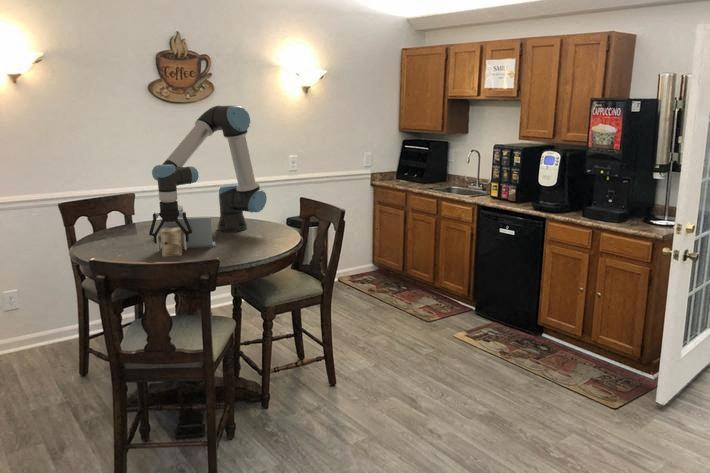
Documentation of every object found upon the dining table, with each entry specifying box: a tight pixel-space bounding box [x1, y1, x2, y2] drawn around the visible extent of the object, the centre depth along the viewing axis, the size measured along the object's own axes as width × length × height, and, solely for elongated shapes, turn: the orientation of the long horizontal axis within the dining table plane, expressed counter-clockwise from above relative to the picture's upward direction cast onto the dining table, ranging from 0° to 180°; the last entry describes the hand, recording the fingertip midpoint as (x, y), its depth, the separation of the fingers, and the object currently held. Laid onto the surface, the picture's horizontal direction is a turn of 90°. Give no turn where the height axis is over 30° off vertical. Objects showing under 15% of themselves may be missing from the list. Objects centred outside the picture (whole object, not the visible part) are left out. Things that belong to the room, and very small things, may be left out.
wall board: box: [160, 216, 216, 251], centre depth 270 cm, size 24×6×14 cm, turn 102°
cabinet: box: [160, 226, 184, 257], centre depth 259 cm, size 8×11×11 cm
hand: (172, 249), depth 258 cm, fingers open, 11 cm apart
